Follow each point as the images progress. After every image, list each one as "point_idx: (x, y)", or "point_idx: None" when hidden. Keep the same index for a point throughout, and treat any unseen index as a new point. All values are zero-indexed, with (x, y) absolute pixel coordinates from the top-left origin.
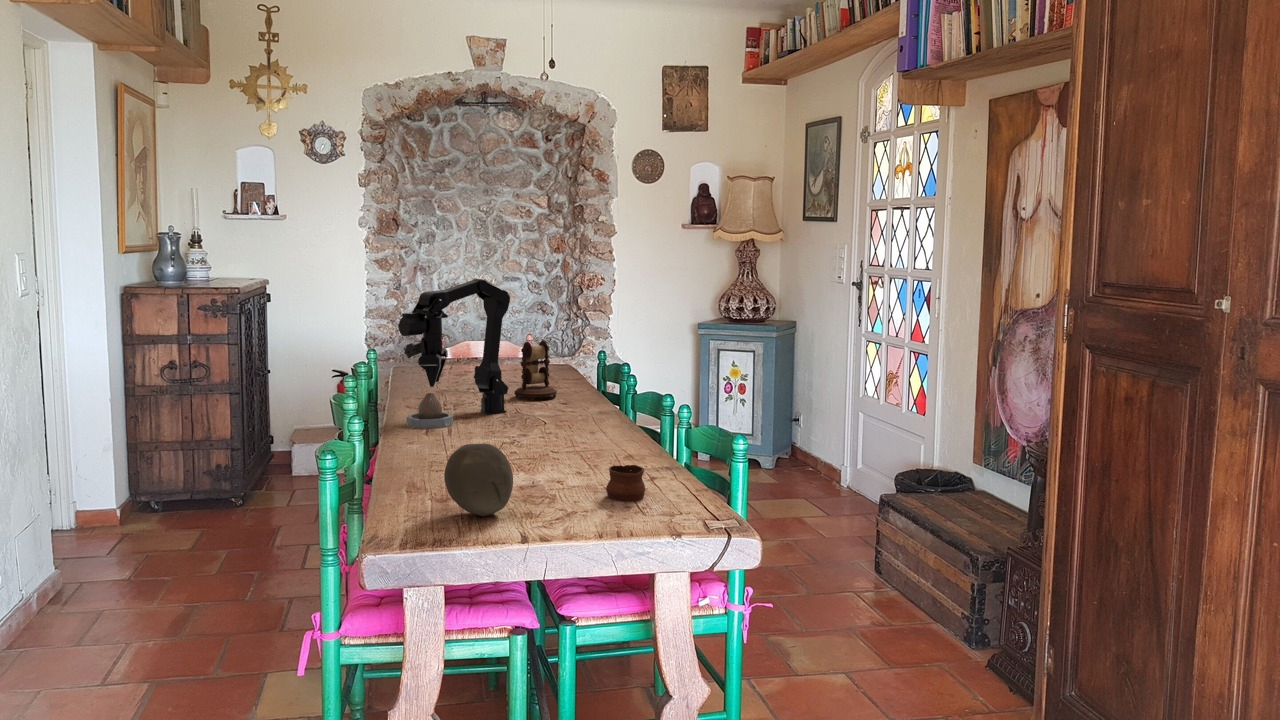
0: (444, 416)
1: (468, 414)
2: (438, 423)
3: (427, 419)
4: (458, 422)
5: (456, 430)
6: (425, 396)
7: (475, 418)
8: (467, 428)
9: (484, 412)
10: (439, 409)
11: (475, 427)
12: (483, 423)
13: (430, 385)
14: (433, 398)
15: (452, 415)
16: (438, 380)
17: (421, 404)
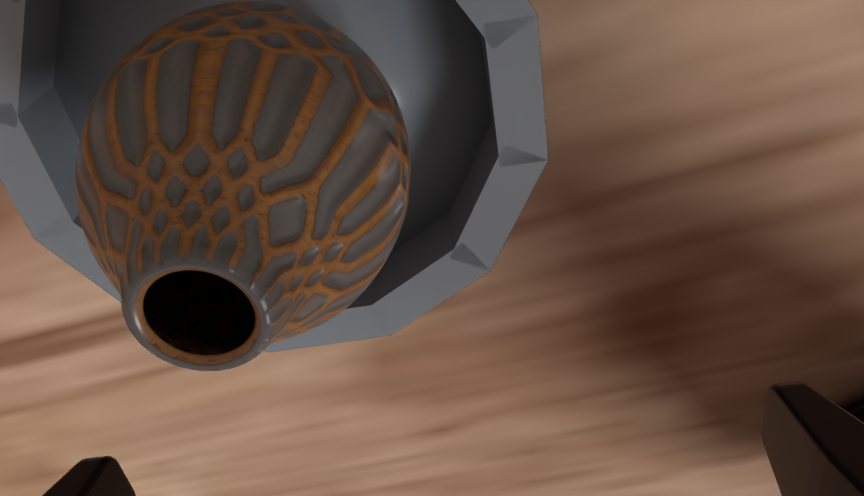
0: (453, 224)
1: (826, 300)
2: None
3: (30, 176)
4: (419, 317)
5: (69, 384)
6: (131, 242)
7: (616, 389)
8: (179, 429)
9: (859, 403)
10: (220, 303)
11: (236, 463)
12: (404, 474)
13: (67, 486)
14: (169, 337)
15: (346, 341)
16: (774, 464)
17: (93, 131)
